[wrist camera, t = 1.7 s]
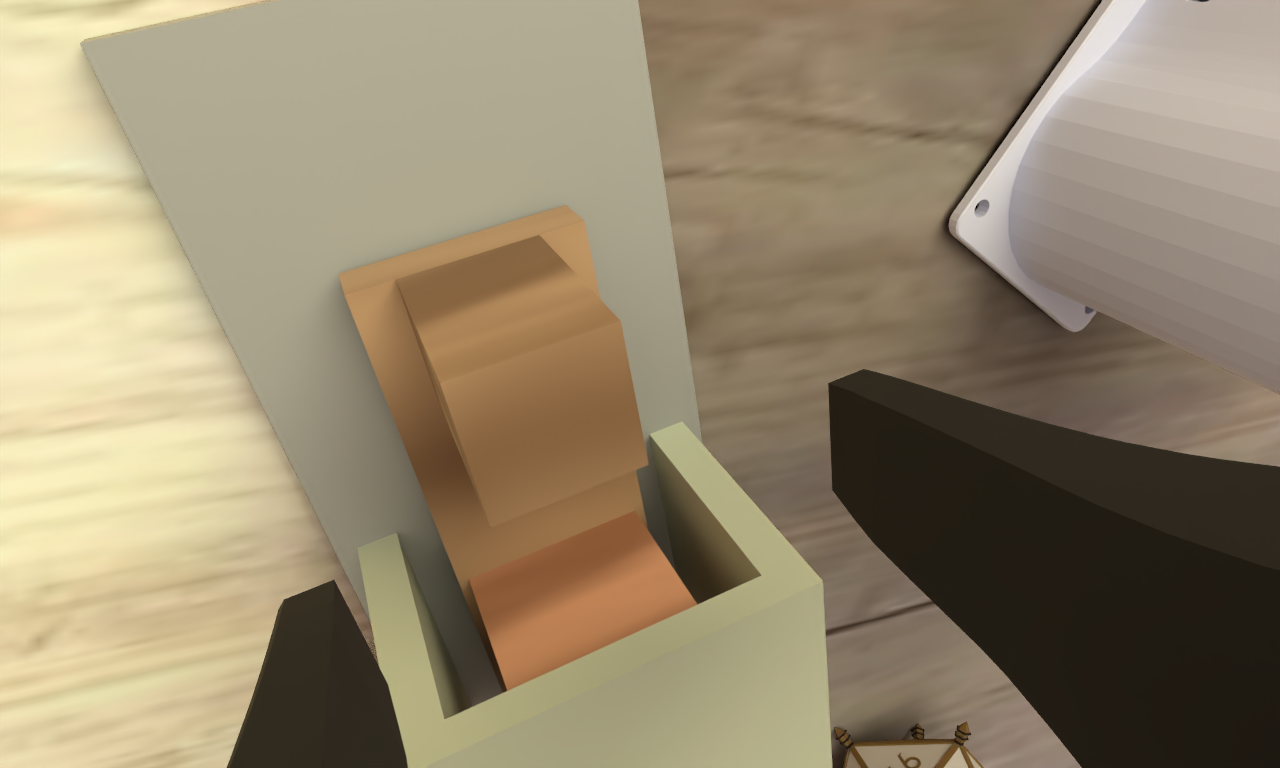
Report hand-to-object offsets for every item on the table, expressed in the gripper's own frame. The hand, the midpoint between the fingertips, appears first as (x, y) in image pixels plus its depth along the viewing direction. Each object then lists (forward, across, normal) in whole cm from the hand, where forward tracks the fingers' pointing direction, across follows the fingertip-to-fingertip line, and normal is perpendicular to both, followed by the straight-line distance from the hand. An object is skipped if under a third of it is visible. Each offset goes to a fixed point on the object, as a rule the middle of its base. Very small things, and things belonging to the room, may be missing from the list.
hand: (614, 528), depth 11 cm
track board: (+10, 0, +9) cm, 13 cm away
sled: (+10, 0, +9) cm, 13 cm away
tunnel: (+10, 0, +9) cm, 13 cm away
